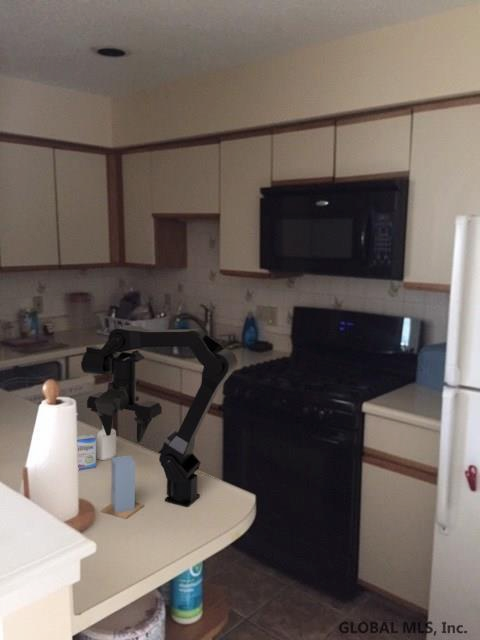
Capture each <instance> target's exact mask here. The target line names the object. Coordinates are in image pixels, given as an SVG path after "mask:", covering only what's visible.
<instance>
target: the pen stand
mask: <svg viewBox="0 0 480 640" xmlns="http://www.w3.org/2000/svg"><path fill="white" fill-rule="evenodd" d="M144 507H145V503H141V502H137V501H135V510H131V511H125V512H119V513H115V511H114V509H113V507H112V505H111V503H109V504H108V505H106V506H105V507H103V508H102V509H100V512H101V513H103V514H108V515H110V516H115V517H118V518H121V519H125V520H127V519H129V518H130V517H132V516H133V515H134V514H136V513H137V512H139V511H140V510H141V509H142V508H144Z"/></svg>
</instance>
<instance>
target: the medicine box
mask: <svg viewBox="0 0 480 640" xmlns="http://www.w3.org/2000/svg"><path fill="white" fill-rule="evenodd" d="M76 435H77V444H78V468H79V470H78V471H83V470H89V469H95V468H96V467H97V437H96V436H95V434H94V433H93V432H92V433H84V434H76Z"/></svg>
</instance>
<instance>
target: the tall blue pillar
mask: <svg viewBox="0 0 480 640" xmlns="http://www.w3.org/2000/svg"><path fill="white" fill-rule="evenodd" d="M110 481H111V484H110V485H111V491H110V492H111V502H110V504H111V505H112V507H113V509H114V511H115V513H119V512H125V511H131V510H135V502H136V501H135V500H136V499H135V497H136V494H135V493H136V492H135V491H136V486H135V485H136V462H135V460H134V459H133V457H132V455H130V454H128V455H123V456H114V457H113V458H111V479H110Z"/></svg>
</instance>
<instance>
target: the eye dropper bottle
mask: <svg viewBox="0 0 480 640" xmlns="http://www.w3.org/2000/svg"><path fill="white" fill-rule="evenodd" d="M113 457H117V431H116V430H115V429H114V428H112V429H111V434H110V435H109V436H107V435H106V433H105V430H104V427H103V425H101V429H100V430H99V431H97V434H96V460H99V461H106V460H112V458H113Z"/></svg>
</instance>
